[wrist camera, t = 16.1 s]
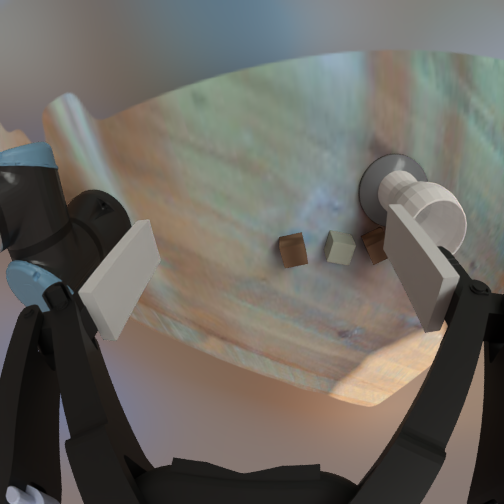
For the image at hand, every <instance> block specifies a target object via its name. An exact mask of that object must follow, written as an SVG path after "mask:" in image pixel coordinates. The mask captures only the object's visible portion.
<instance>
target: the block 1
mask: <svg viewBox="0 0 504 504" xmlns="http://www.w3.org/2000/svg"><path fill="white" fill-rule="evenodd" d="M279 249H280V252H281V256H282V260H283V263H284V267H285V268H289V267H294V266H299V265H304V264H308V260H307V254H306V249H305V244H304V240H303V235H302V232H301V233H296V234H292V235H287V236H282V237H279Z"/></svg>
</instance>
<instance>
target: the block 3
mask: <svg viewBox="0 0 504 504" xmlns="http://www.w3.org/2000/svg"><path fill="white" fill-rule="evenodd" d="M361 237H362V240H363V242H364V244H365V247H366V249H367V252H368V254H369V256H370V258H371V260H372V263H373V265H375V264H377V263H379V262H381V261H383V260H385V259H387V258H388V257H387V255H386V253H385V251H384V250H383V247H384V239H385V233H384V232H383V230H382V228H381V227H380V228H378V229H375V230H373V231H371V232H369V233H367V234H365V235H363V236H361Z"/></svg>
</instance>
